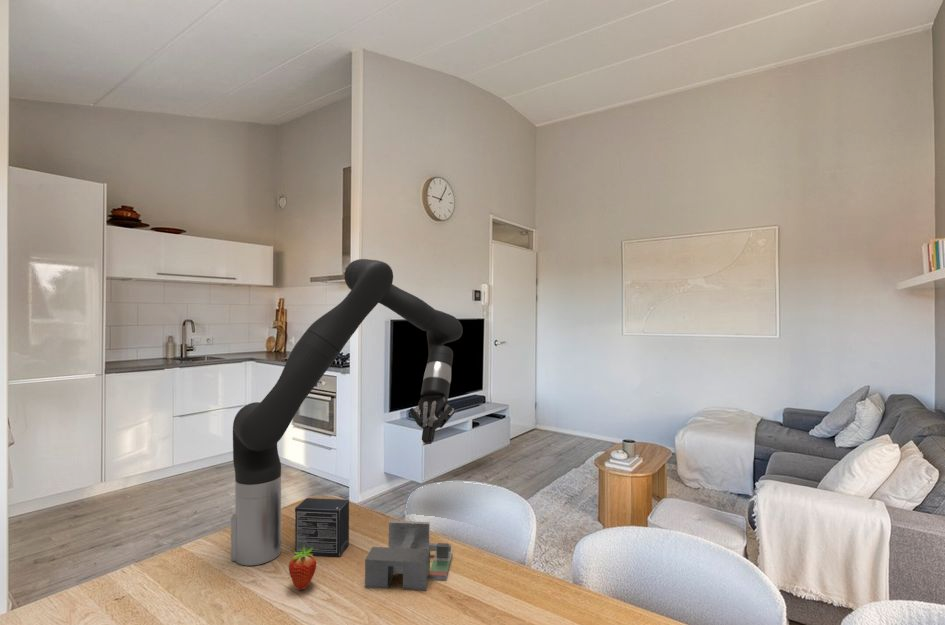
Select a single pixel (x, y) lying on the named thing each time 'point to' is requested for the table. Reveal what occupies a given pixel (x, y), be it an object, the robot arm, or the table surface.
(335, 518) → the small box
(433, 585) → the table surface
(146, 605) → the table surface
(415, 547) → the push plate
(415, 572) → the gauge base
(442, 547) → the block
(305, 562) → the fruit
